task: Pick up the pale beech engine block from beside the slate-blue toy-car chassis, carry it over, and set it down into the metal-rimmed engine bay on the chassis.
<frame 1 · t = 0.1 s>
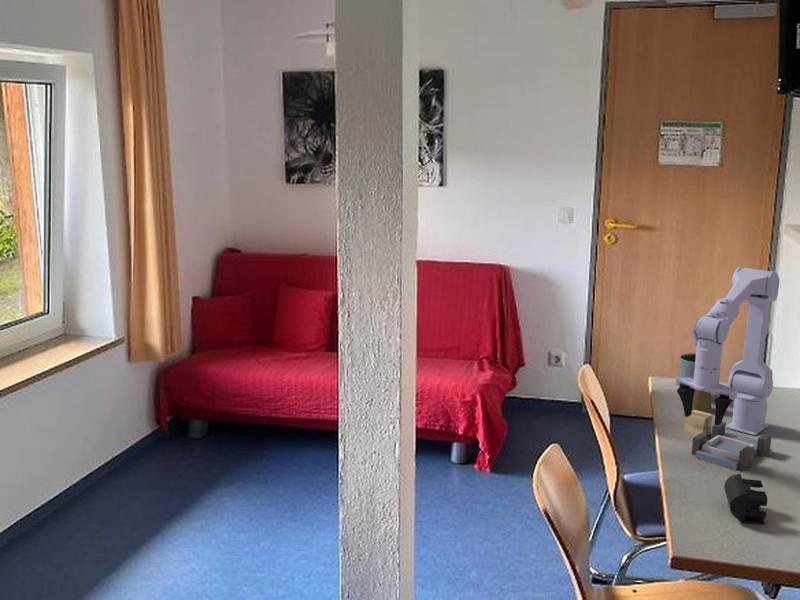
hand: (702, 419, 202), 10 cm above the table, tool pointing down, fingers open, 7 cm apart
cork: (700, 410, 237), on the table
chassis: (730, 452, 208), on the table
end cap: (743, 514, 177), on the table
engine block: (697, 434, 220), on the table
grey-green cup: (694, 397, 248), on the table
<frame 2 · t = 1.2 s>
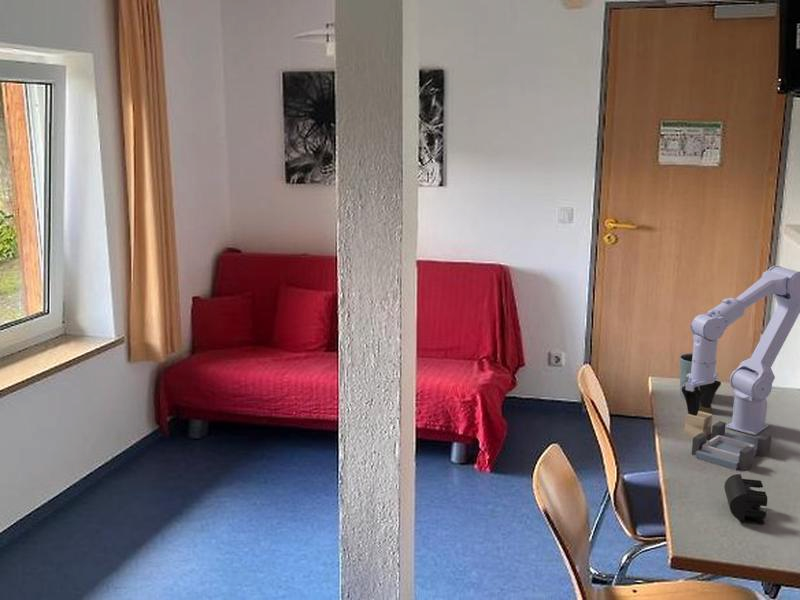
hand: (699, 410, 218), 6 cm above the table, tool pointing down, fingers open, 7 cm apart
nothing on the table moved.
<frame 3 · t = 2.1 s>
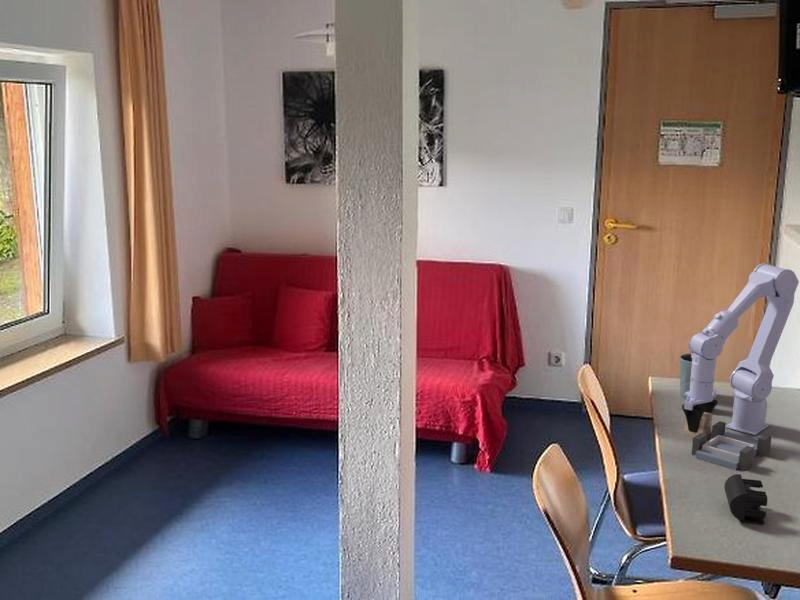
hand: (697, 428, 219), 1 cm above the table, tool pointing down, fingers closed on engine block, 5 cm apart
engine block: (697, 433, 220), on the table, touching gripper
everything else where it was.
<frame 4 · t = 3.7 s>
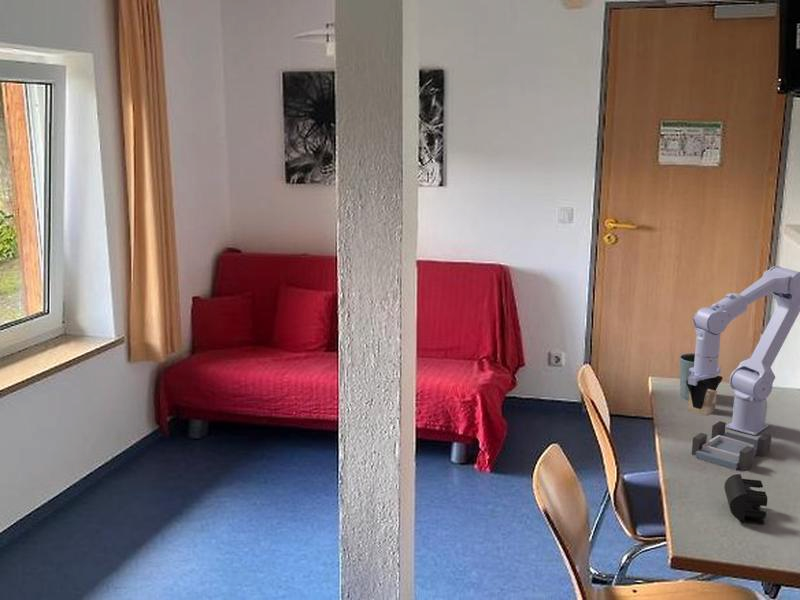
hand: (702, 405, 217), 8 cm above the table, tool pointing down, fingers closed on engine block, 5 cm apart
engine block: (701, 411, 217), point 7 cm above the table, touching gripper
everything else where it was.
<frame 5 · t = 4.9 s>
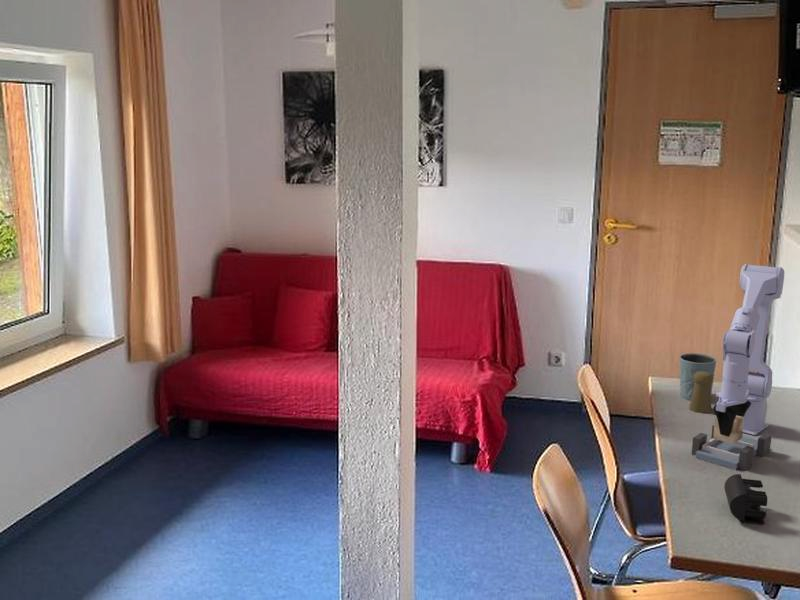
hand: (729, 432, 205), 6 cm above the table, tool pointing down, fingers closed on engine block, 5 cm apart
engine block: (727, 438, 205), point 4 cm above the table, touching gripper
everything else where it was.
when the fingers open (5 cm above the table, at t = 5.6 s): engine block drops 1 cm, resting on chassis.
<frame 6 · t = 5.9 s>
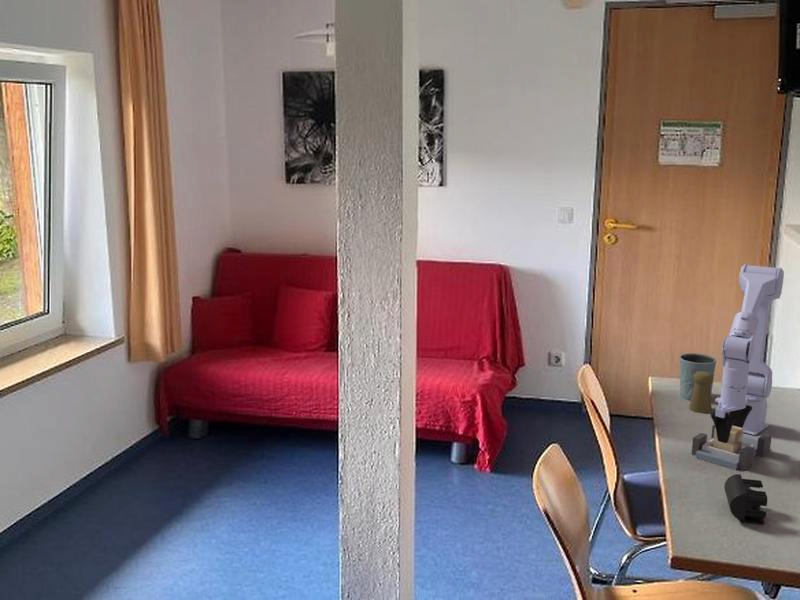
hand: (729, 437, 205), 5 cm above the table, tool pointing down, fingers open, 7 cm apart
engine block: (726, 449, 206), point 1 cm above the table, touching chassis
everything else where it was.
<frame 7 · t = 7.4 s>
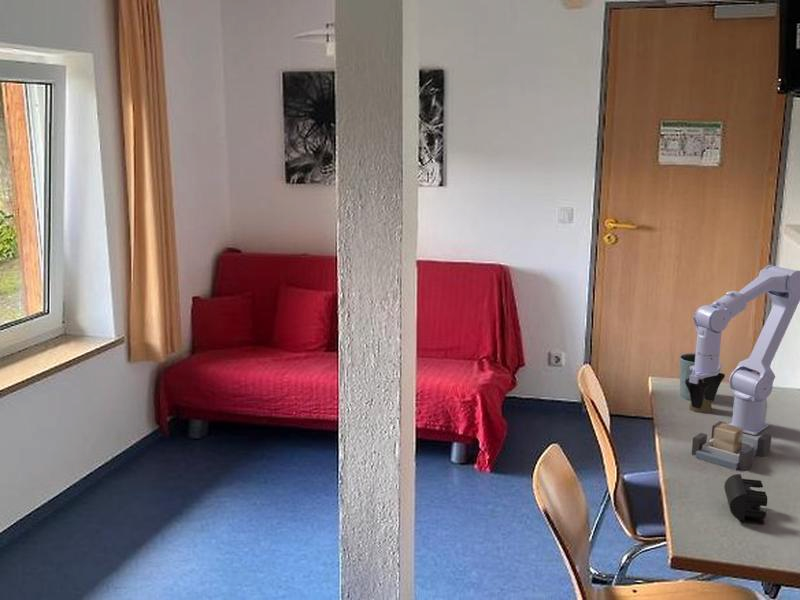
hand: (703, 403, 215), 9 cm above the table, tool pointing down, fingers open, 7 cm apart
nothing on the table moved.
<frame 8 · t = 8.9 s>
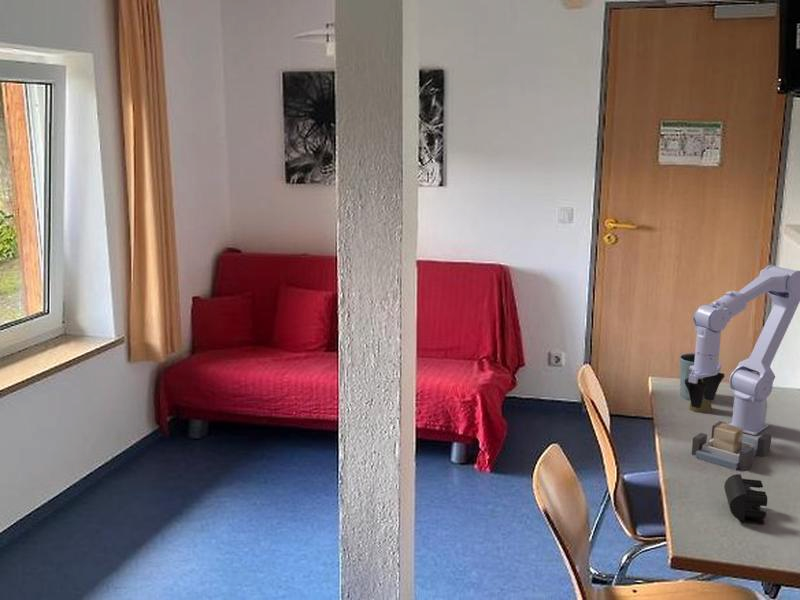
hand: (702, 403, 215), 9 cm above the table, tool pointing down, fingers open, 7 cm apart
nothing on the table moved.
at the end: engine block 0.3 cm from the target spot on the chassis, point 1.5 cm above the chassis's base; engine block tilted 0° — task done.
